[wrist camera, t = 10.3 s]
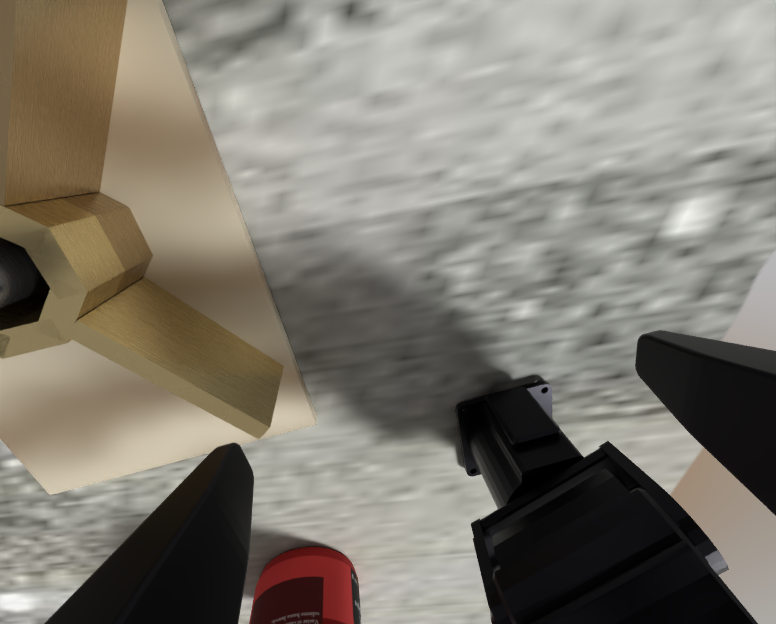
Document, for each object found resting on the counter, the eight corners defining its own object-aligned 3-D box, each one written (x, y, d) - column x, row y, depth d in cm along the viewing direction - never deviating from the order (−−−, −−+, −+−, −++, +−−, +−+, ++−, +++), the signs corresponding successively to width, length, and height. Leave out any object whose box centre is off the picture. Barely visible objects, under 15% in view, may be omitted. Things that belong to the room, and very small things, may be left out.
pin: (117, 263, 17) (-70, 342, 9) (71, 275, 17) (-152, 364, 9) (90, 215, 16) (-139, 261, 8) (42, 228, 16) (-230, 285, 8)
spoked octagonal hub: (286, 373, 20) (273, 435, 16) (122, 415, 20) (60, 492, 15) (124, -41, 13) (10, -150, 8) (-144, 12, 12) (-421, -73, 8)
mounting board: (316, 415, 23) (316, 424, 22) (59, 483, 22) (50, 494, 21) (149, -33, 14) (139, -44, 13) (-302, 56, 13) (-340, 50, 12)
